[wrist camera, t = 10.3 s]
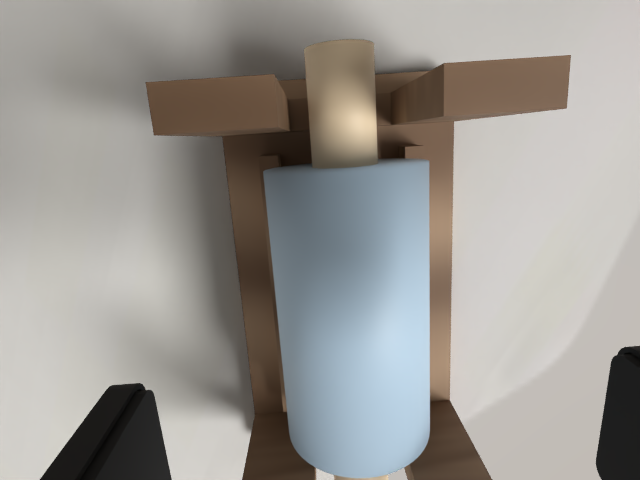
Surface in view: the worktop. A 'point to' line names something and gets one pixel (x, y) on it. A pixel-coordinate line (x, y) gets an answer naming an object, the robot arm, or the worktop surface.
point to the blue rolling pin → (352, 279)
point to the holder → (392, 142)
